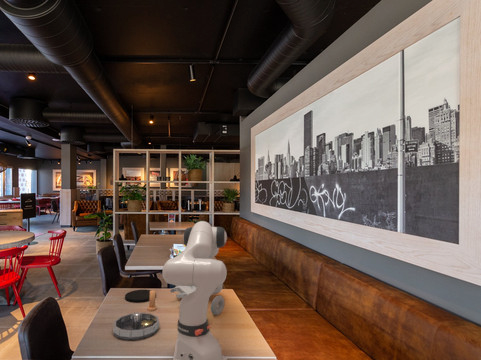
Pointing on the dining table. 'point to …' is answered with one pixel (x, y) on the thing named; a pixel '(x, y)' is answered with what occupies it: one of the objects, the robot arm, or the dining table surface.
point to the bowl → (135, 326)
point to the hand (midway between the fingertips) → (173, 293)
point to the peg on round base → (152, 301)
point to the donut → (220, 302)
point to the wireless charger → (138, 296)
